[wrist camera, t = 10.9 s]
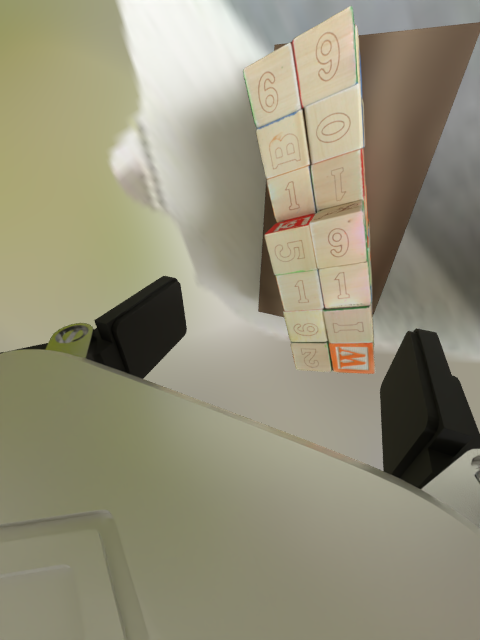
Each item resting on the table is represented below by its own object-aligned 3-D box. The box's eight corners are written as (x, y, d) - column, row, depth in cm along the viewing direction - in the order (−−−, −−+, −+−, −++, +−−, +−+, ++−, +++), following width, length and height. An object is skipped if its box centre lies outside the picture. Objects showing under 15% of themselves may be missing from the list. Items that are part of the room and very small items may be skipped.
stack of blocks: (281, 90, 22) (218, 51, 13) (361, 51, 19) (354, -37, 10) (316, 305, 32) (295, 372, 22) (373, 301, 29) (375, 377, 19)
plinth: (465, 40, 19) (483, 21, 16) (365, 318, 34) (365, 335, 31) (286, 57, 24) (274, 44, 21) (266, 298, 39) (258, 311, 36)
